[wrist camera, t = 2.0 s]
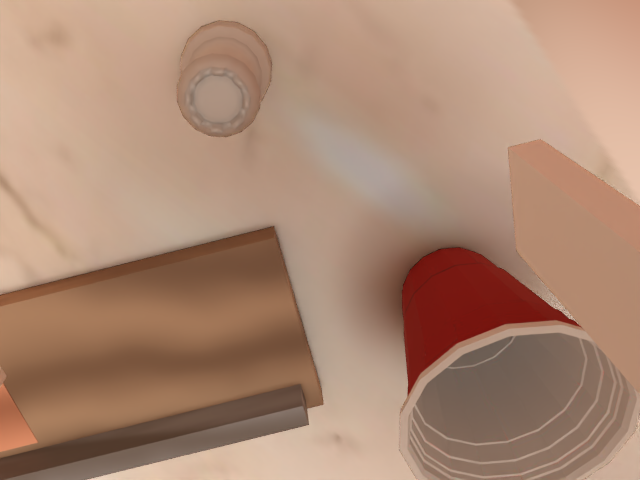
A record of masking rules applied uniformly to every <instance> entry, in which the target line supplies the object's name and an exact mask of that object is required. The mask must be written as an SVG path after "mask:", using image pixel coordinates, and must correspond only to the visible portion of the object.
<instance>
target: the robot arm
mask: <svg viewBox="0 0 640 480" xmlns="http://www.w3.org/2000/svg"><path fill="white" fill-rule="evenodd" d="M508 154H509V166H510V179H511V191H512V204H513V216H514V229H515V241H516V251H517V252H518V253H519V255H520V256H521V257H522V258H523V259H524V260H525V262H526V263H527V264H528V265H529V266H530V267H531V269H532V270H533V271H534V272H535V273H536V274H537V276H538V277H539V278H540V279H541V280H542V281H543V283H544V284H545V285H546V286H547V287H548V288H549V289H550V291H551V292H552V293H553V294H554V295H555V296H556V298H557V299H558V300H559V301H560V302H561V303H562V305H563V306H564V307H565V308H566V309H567V310H568V312H569V313H570V314H571V315H572V316H573V317H574V319H575V320H576V321H577V322H578V323H579V324H580V326H581V327H582V328H583V329H584V330H585V331H586V333H587V334H588V335H589V336H590V337H591V338H592V339H593V341H594V342H595V343H596V344H597V345H598V346H599V348H600V349H601V350H602V351H603V352H604V353H605V355H606V356H607V357H608V358H609V359H610V360H611V362H612V363H613V364H614V365H615V366H616V367H617V369H618V370H619V371H620V372H621V373H622V374H623V376H624V377H625V378H626V379H627V380H628V381H629V383H630V384H631V385H632V386H633V387H634V388H635V389H636V391H637V392H638V393H639V394H640V206H639V205H637V204H636V203H634V202H633V201H631V200H630V199H628V198H627V197H625V196H624V195H623V194H621V193H620V192H618V191H617V190H615V189H614V188H612V187H611V186H609V185H608V184H606V183H605V182H603V181H602V180H600V179H599V178H597V177H596V176H594V175H593V174H591V173H590V172H589V171H587V170H586V169H584V168H583V167H581V166H580V165H578V164H577V163H575V162H574V161H572V160H571V159H569V158H568V157H566V156H565V155H563V154H562V153H560V152H559V151H557V150H556V149H555V148H553V147H552V146H550V145H549V144H547V143H546V142H544V141H543V140H541V139H539V140H535V141H531V142H527V143H523V144H519V145H515V146H511V147H508ZM6 377H7V376H6V374H5V373H4V371H3V369H2V368H1V366H0V387H1V385H2V384H3V382H4V380H5V378H6Z"/></svg>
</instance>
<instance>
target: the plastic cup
mask: <svg viewBox="0 0 640 480" xmlns="http://www.w3.org/2000/svg"><path fill="white" fill-rule="evenodd" d="M402 311H403V318H404V342H405V353H406V364H407V375H408V397H407V399H406V401H405V402H404V404H403V406H402V408H401V412H400V438H399V451H400V452H401V454H402V456H403V457H404V459H405V461H406V462H407V464H408V466H409V467H410V469H411V471H412V472H413V474H414V476H415V477H416V479H418V480H584V479H585V478H587V477H588V476H590V475H591V474H593V473H594V472H596V471H597V470H599V469H600V468H602V467H604V466H605V465H607V464H608V463H609V462H610V461H611V460H612V459H613V457H614V456H615V455H616V454H617V453H618V451H619V450H620V449H621V448H622V447H623V445H624V444H625V443H626V442H627V440H628V439H629V438H630V437H631V436H632V434H633V433H634V432H635V429H636V426H637V423H638V419H639V416H640V394H639V393H638V392H637V391H636V389H635V388H634V387H633V386H632V385H631V384H630V383H629V381H628V380H627V379H626V378H625V377H624V376H623V374H622V373H621V372H620V371H619V370H618V369H617V367H616V366H615V365H614V364H613V363H612V362H611V360H610V359H609V358H608V357H607V356H606V355H605V353H604V352H603V351H602V350H601V349H600V348H599V346H598V345H597V344H596V343H595V342H594V341H593V339H592V338H591V337H590V336H589V335H588V334H587V333H586V331H585V330H584V329H583V328H582V327H581V326H580V325H579V324H577V323H576V322H575V321H574V320H571V319H569V318H568V317H566V316H565V315H564V314H563V313H562V312H561V311H559V310H557V309H554V308H553V307H551V306H550V305H549V304H548V303H546V302H545V301H544V300H542V299H541V298H540V297H539V296H537V295H536V294H535V293H533V292H532V291H531V290H529V289H528V288H527V287H526V286H524V285H523V284H522V283H520V282H519V281H518V280H517V279H515V278H514V277H513V276H511V275H510V274H509V273H508V272H506V271H505V270H504V269H501V268H498V267H497V266H495V265H494V264H493V263H492V262H490V261H489V260H488V259H486V258H485V257H484V256H482V255H481V254H478V253H476V252H473V251H469V250H466V249H463V248H459V247H457V248H447V249H440V250H437V251H435V252H433V253H431V254H429V255H427V256H424V257H423V258H422V259H421V260H420V261H419V262H418V263H417V264H416V265H415V266H414V267H413V268H412V269H411V270H410V271H409V274H408V276H407V278H406V280H405V282H404V285H403V290H402Z"/></svg>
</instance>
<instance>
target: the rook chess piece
mask: <svg viewBox="0 0 640 480" xmlns="http://www.w3.org/2000/svg"><path fill="white" fill-rule="evenodd" d="M271 71H272V62H271V59H270V56H269V53H268V50H267V47H266V45H265V44H264V43H263V41H262V40H261V39H260V38H259V37H258V35H257V34H256V33H255V32H254V31H252V30H251V29H249V28H247V27H245V26H243V25H241V24H239V23H237V22H227V21H217V22H214V23H211V24H208V25H205V26H202V27H201V28H200V29H198V30H197V31H196V32H195V33H194V34H193V35H192V36H191V37H190V38H189V39H188V41H187V43H186V46H185V48H184V50H183V53H182V55H181V77H180V79H179V82H178V84H177V102H178V105H179V107H180V110H181V112H182V115H183V117H184V118H185V119H186V120H187V121H188V122H189V123H190V124H191V125H192V126H193V127H194V128H195V129H196V130H198V131H200V132H202V133H205V134H207V135H209V136H217V137H228V136H231V135H234V134H237V133H240V132H242V131H243V130H244V129H245V128H246V127H248V126H249V125H250V124H251V123H252V122H253V121H254V119H255V116H256V114H257V112H258V110H259V108H260V101H262V99H263V97H264V95H265V93H266V91H267V89H268V87H269V85H270V82H271Z"/></svg>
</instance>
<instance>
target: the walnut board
mask: <svg viewBox="0 0 640 480" xmlns="http://www.w3.org/2000/svg"><path fill="white" fill-rule="evenodd" d="M0 366H1V368H2V369H3V371H4V373H5V374H6V376H7V377H6V378H5V380H4V382H3V384H2V385H1V387H0V480H87V479H91V478H95V477H99V476H103V475H107V474H111V473H115V472H119V471H123V470H127V469H131V468H135V467H139V466H144V465H148V464H152V463H156V462H160V461H164V460H168V459H172V458H176V457H180V456H184V455H188V454H192V453H196V452H200V451H204V450H209V449H213V448H217V447H221V446H225V445H229V444H233V443H237V442H241V441H245V440H249V439H253V438H257V437H261V436H265V435H269V434H274V433H278V432H282V431H286V430H290V429H294V428H298V427H302V426H306V425H309V422H308V413H307V408H311V407H315V406H319V405H323V397H322V390H321V386H320V383H319V379H318V376H317V373H316V369H315V366H314V362H313V359H312V355H311V352H310V349H309V345H308V342H307V338H306V335H305V331H304V328H303V325H302V321H301V318H300V314H299V311H298V308H297V304H296V301H295V297H294V294H293V290H292V287H291V284H290V280H289V277H288V273H287V270H286V267H285V263H284V260H283V256H282V253H281V249H280V246H279V243H278V239H277V236H276V232H275V229H274V227H270V228H266V229H262V230H258V231H254V232H250V233H246V234H242V235H238V236H234V237H230V238H226V239H222V240H218V241H214V242H210V243H206V244H202V245H198V246H194V247H190V248H186V249H182V250H178V251H174V252H170V253H166V254H162V255H158V256H154V257H150V258H146V259H142V260H138V261H135V262H131V263H127V264H123V265H119V266H115V267H111V268H107V269H103V270H99V271H95V272H91V273H87V274H83V275H79V276H75V277H71V278H67V279H63V280H59V281H55V282H51V283H47V284H43V285H39V286H35V287H31V288H27V289H23V290H19V291H15V292H11V293H7V294H3V295H0Z"/></svg>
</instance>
